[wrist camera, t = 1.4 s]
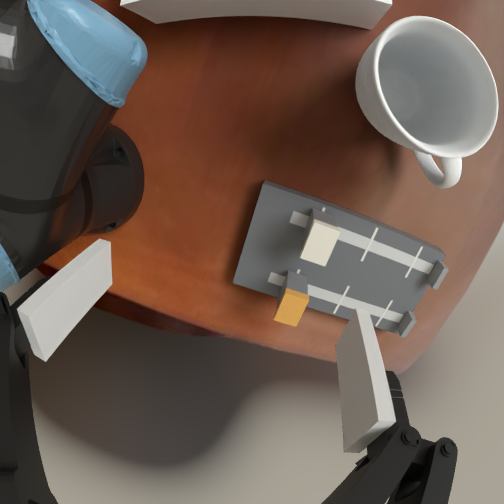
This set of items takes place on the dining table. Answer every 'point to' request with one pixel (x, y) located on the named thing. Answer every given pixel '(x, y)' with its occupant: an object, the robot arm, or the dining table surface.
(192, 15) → the tissue box
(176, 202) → the dining table surface
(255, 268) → the console
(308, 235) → the fader cream
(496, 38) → the dining table surface
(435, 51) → the mug
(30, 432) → the robot arm
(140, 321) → the dining table surface
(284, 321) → the fader orange
